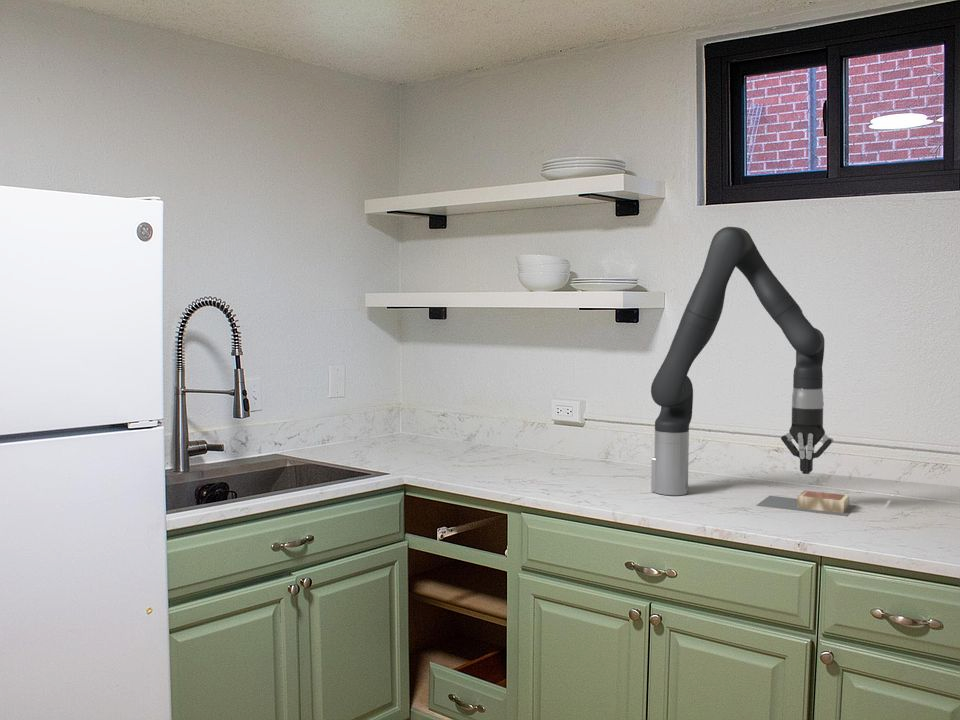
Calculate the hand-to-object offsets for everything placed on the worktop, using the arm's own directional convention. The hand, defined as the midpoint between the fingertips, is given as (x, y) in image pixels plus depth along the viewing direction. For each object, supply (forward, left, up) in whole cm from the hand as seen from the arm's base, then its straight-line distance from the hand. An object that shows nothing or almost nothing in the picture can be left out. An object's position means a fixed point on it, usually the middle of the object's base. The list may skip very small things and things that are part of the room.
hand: (806, 473), depth 232 cm
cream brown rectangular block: (-1, 0, -7) cm, 7 cm away
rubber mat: (0, 0, -9) cm, 9 cm away
